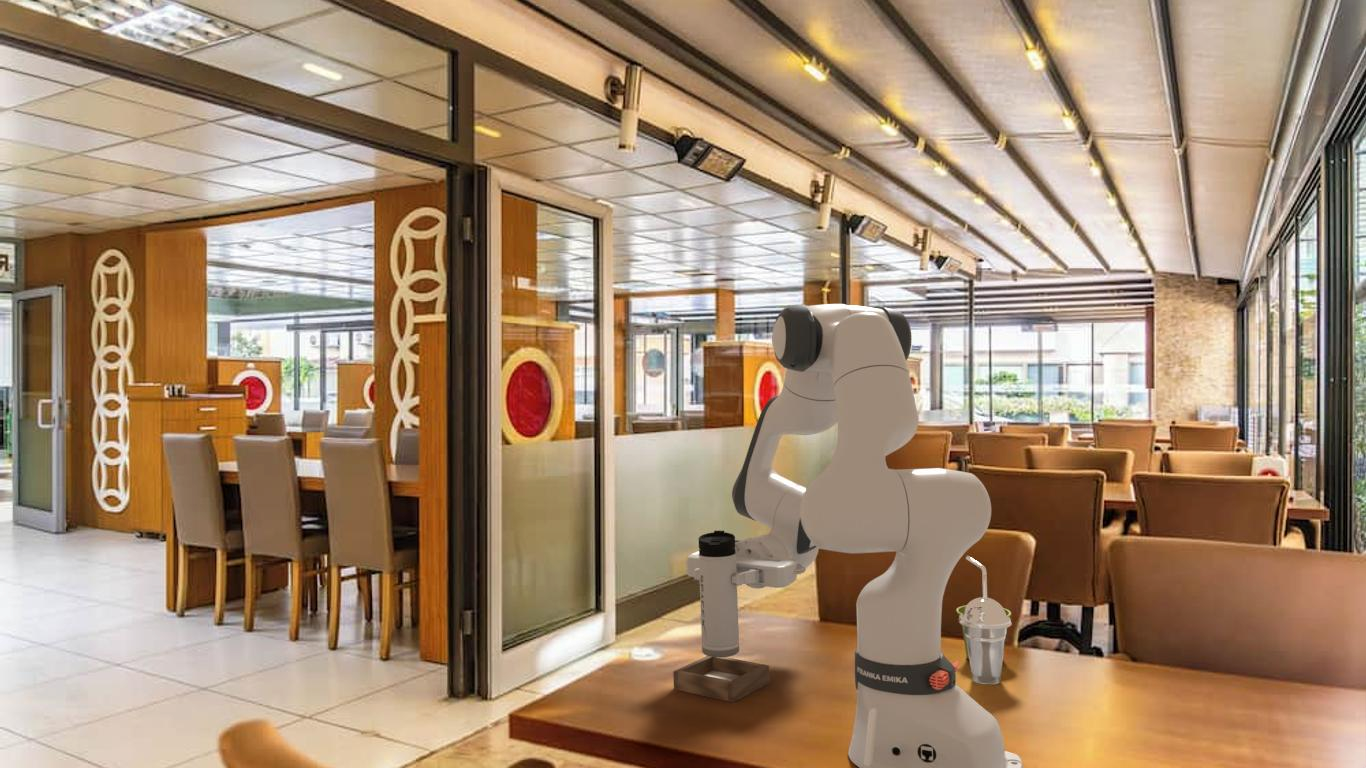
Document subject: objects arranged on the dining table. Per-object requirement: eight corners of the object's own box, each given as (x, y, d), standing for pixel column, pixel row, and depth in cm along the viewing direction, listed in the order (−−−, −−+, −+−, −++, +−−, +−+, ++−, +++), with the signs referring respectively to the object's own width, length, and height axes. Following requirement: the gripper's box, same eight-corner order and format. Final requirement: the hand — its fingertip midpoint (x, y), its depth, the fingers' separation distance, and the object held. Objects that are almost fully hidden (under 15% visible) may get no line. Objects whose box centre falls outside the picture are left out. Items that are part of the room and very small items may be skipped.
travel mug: (741, 646, 160) (737, 530, 160) (736, 658, 153) (732, 537, 153) (705, 645, 161) (701, 530, 161) (699, 657, 155) (695, 537, 154)
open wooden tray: (769, 683, 158) (768, 665, 158) (733, 702, 149) (732, 683, 149) (711, 671, 165) (710, 654, 165) (673, 689, 156) (673, 671, 156)
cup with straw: (961, 687, 153) (958, 566, 153) (958, 670, 162) (955, 555, 162) (1015, 690, 151) (1012, 567, 151) (1010, 672, 160) (1007, 556, 160)
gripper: (810, 586, 161) (769, 604, 150) (713, 574, 173) (668, 589, 162) (809, 549, 161) (767, 565, 150) (712, 540, 173) (667, 553, 162)
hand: (715, 577), depth 156 cm, fingers closed on travel mug, 6 cm apart
